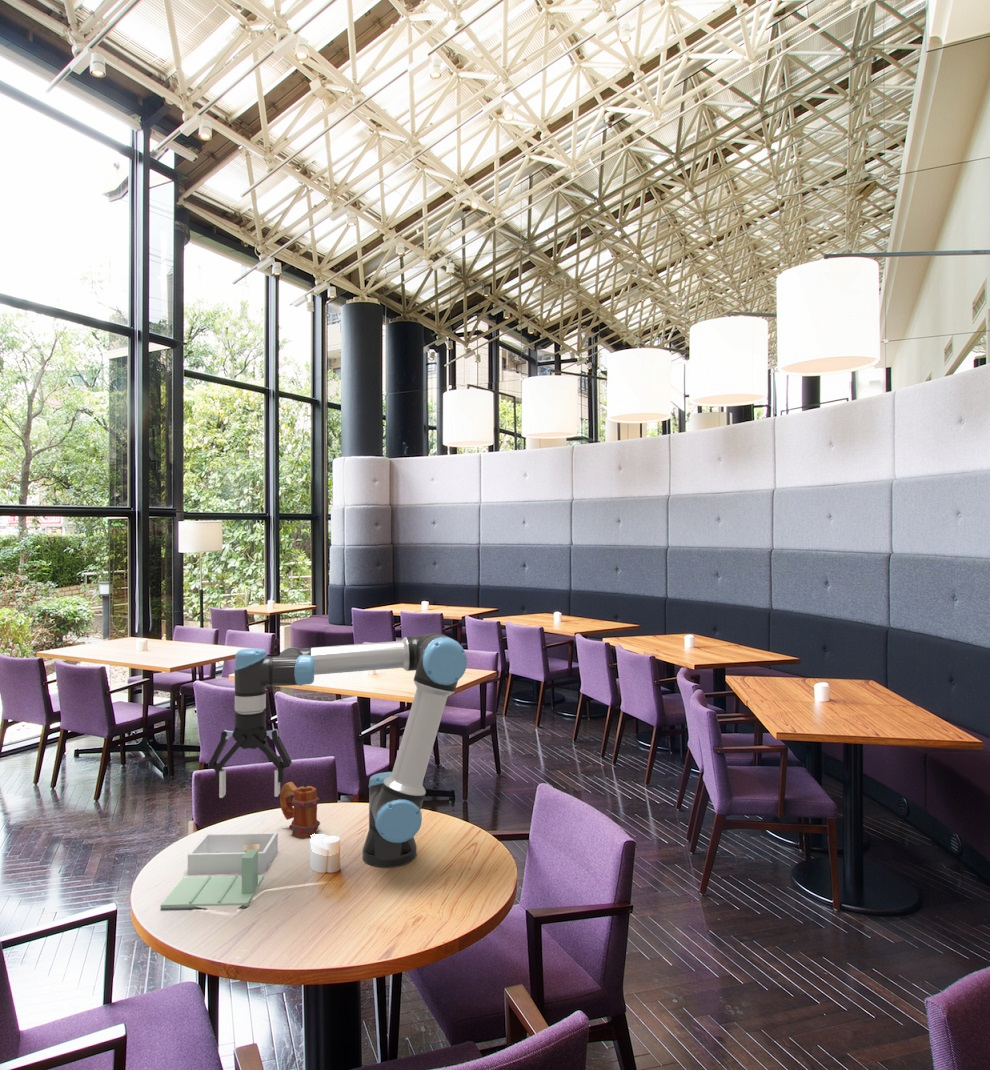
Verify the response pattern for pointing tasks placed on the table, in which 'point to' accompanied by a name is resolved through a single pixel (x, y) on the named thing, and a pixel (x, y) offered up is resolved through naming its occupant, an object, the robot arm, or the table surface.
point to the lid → (218, 887)
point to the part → (251, 847)
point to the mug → (300, 809)
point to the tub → (230, 852)
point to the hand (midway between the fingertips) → (250, 795)
